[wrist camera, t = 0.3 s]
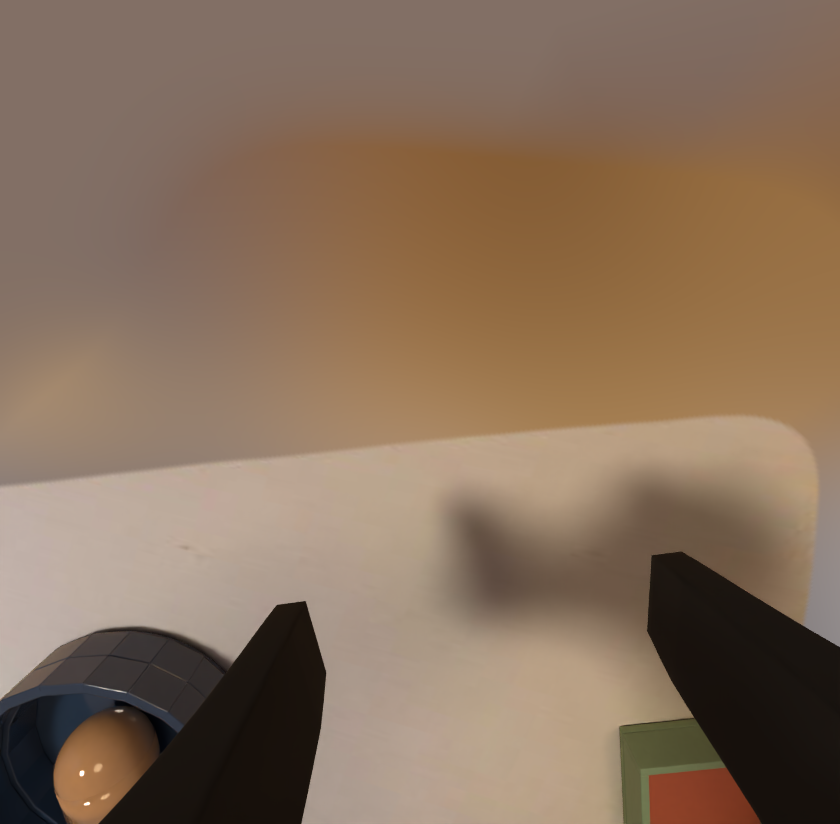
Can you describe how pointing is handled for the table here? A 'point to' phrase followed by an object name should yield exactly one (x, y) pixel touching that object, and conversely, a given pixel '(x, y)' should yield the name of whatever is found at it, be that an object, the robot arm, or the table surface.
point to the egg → (103, 762)
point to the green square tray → (677, 777)
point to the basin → (91, 707)
